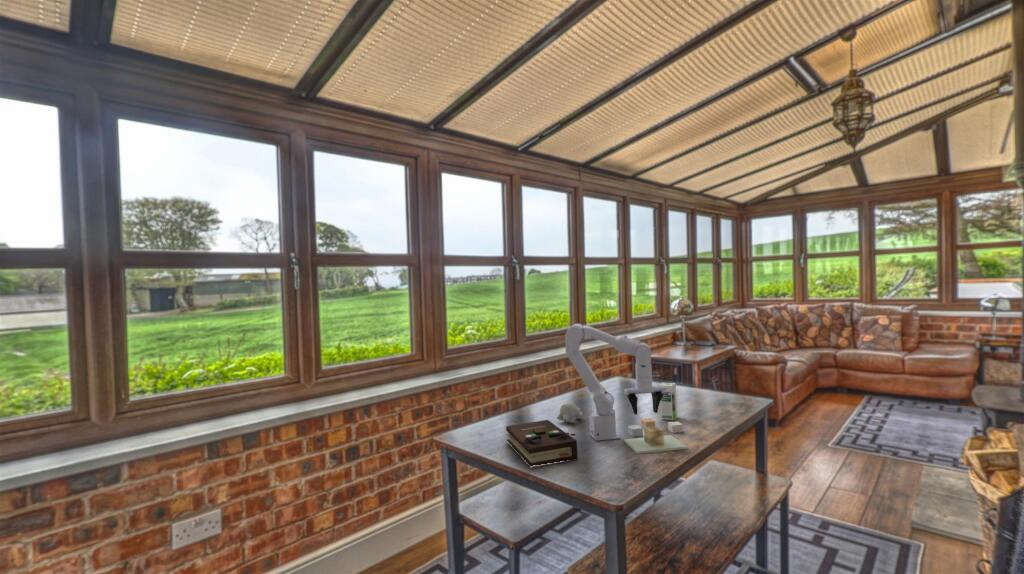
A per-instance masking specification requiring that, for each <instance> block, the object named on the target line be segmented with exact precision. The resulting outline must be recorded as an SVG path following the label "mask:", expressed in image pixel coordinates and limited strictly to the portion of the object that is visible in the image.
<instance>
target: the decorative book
mask: <svg viewBox="0 0 1024 574" xmlns="http://www.w3.org/2000/svg"><path fill="white" fill-rule="evenodd" d="M505 430H506V432H507V433H505V436H507V437H508V438H509V439H506V442H507V441H508V442H509V443H510V444H511V445H512V447H513V448H514V449H515V450H516V451H517V452H518V453H519V454H520V455H521V456H522V457H523V458H524V460H526V462H527V463H528V464H529V465H530V466H533V465H541V464H547V463H554V462H560V461H567V460H572V461H575V460H574V459H578V457H579V456H578V440H577V439H575V438H574V436H576V434H575V433H569V432H565V431H564V430H563V429H561V428H560V427H559V426H557V425H555V423H553V422H551V421H550V420H549V419H543V420H538V421H537V420H536V421H531V422H530V421H529V422H524V423H518V424H511V425H506V426H505ZM567 462H568V461H567Z"/></svg>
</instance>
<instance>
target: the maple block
mask: <svg viewBox="0 0 1024 574" xmlns="http://www.w3.org/2000/svg"><path fill="white" fill-rule="evenodd" d="M664 432H665V431H664V430H663V429H662V428H661V427H659V426H658V425H655V426H651V427H644V428H643V438H644V441H645V442H646V443H647V444H649V445H650V446H656V445H664V436H665V435H664Z"/></svg>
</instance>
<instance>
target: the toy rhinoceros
mask: <svg viewBox="0 0 1024 574" xmlns="http://www.w3.org/2000/svg"><path fill="white" fill-rule="evenodd" d="M582 409H583V408H582V407H578V406H577V405H576V404H575V403H574V402H572V401H564V402H563V403H561V405H560V407H559V413H558V414H557V416H556V419H557V420H559V421H563V422H565V421H566V422H565V423H568V424H574V421H575V420H574V419H576V420H578V419H579V420H580V419H582V415H583V412H582Z"/></svg>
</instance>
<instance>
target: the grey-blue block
mask: <svg viewBox="0 0 1024 574" xmlns="http://www.w3.org/2000/svg"><path fill="white" fill-rule="evenodd" d="M627 434H628V435H630V437H632V438H636V437H635V436H637V437H642V436H643V437H644V428H643V427H641V425H638V424H635V425H628V426H627Z"/></svg>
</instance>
